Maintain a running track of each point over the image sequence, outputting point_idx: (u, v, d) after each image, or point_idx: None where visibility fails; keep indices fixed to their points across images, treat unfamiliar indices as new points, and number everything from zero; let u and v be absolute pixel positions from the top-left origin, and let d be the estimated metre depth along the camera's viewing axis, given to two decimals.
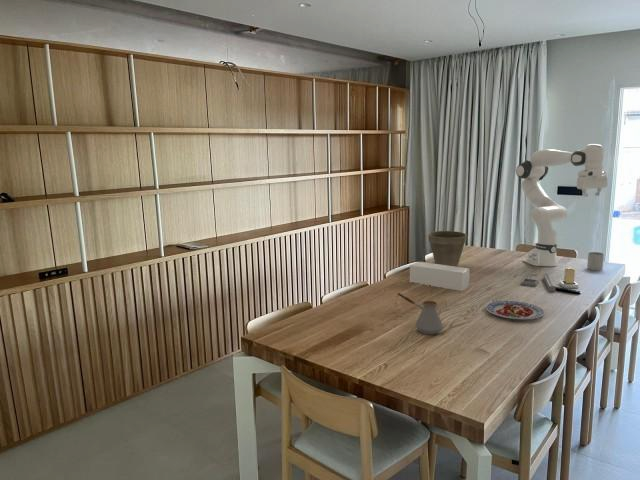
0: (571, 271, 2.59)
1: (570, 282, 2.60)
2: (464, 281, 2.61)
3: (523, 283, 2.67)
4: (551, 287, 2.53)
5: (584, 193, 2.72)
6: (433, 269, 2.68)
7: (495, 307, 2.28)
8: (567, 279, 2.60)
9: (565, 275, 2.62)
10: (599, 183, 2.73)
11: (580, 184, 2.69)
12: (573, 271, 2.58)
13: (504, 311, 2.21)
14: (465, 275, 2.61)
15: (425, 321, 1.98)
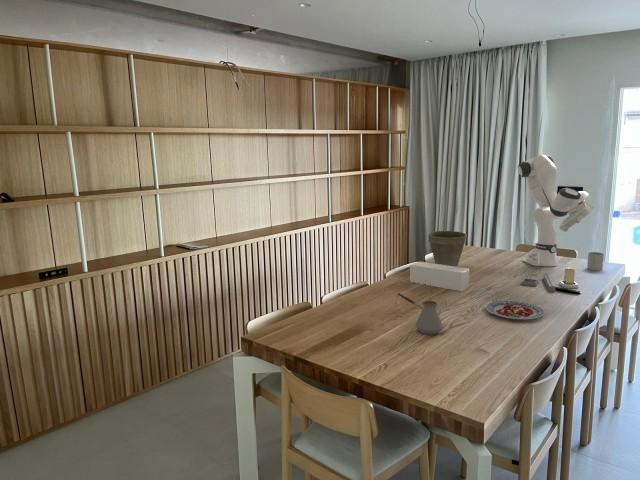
0: (571, 271, 2.59)
1: (570, 282, 2.60)
2: (464, 281, 2.61)
3: (523, 283, 2.67)
4: (551, 287, 2.53)
5: (580, 219, 2.54)
6: (433, 269, 2.68)
7: (495, 307, 2.28)
8: (567, 279, 2.60)
9: (565, 275, 2.62)
10: None
11: (589, 209, 2.53)
12: (573, 271, 2.58)
13: (504, 311, 2.21)
14: (465, 275, 2.61)
15: (425, 321, 1.98)
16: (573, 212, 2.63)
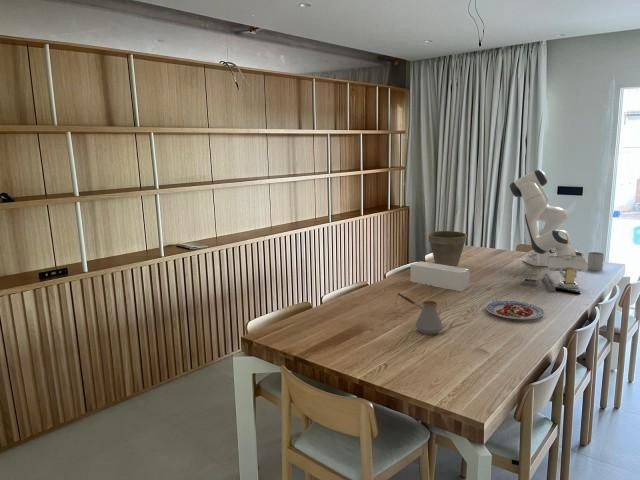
0: (571, 271, 2.59)
1: (570, 282, 2.60)
2: (463, 281, 2.60)
3: (523, 283, 2.67)
4: (551, 287, 2.53)
5: None
6: (433, 269, 2.68)
7: (495, 307, 2.28)
8: (567, 279, 2.60)
9: None
10: None
11: None
12: (573, 271, 2.58)
13: (504, 311, 2.21)
14: (464, 275, 2.61)
15: (425, 321, 1.98)
16: (567, 258, 2.65)
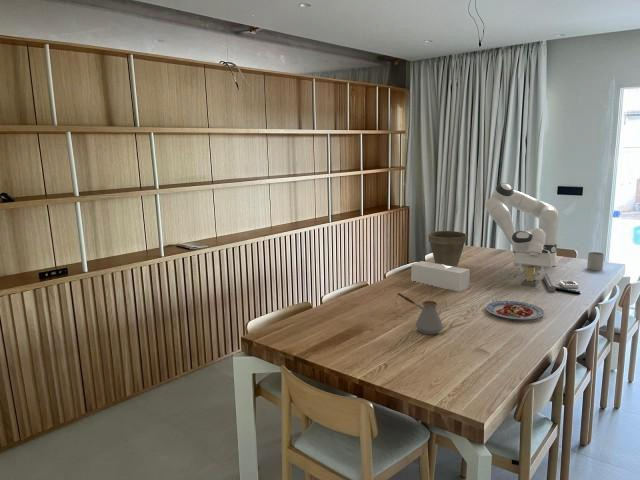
0: (530, 269, 2.65)
1: (529, 280, 2.66)
2: (462, 282, 2.60)
3: (523, 283, 2.67)
4: (551, 287, 2.53)
5: (541, 271, 2.65)
6: (433, 269, 2.68)
7: (495, 307, 2.29)
8: (526, 277, 2.67)
9: None
10: None
11: (551, 265, 2.65)
12: (532, 269, 2.64)
13: (504, 311, 2.21)
14: (464, 276, 2.60)
15: (425, 321, 1.98)
16: (533, 255, 2.70)
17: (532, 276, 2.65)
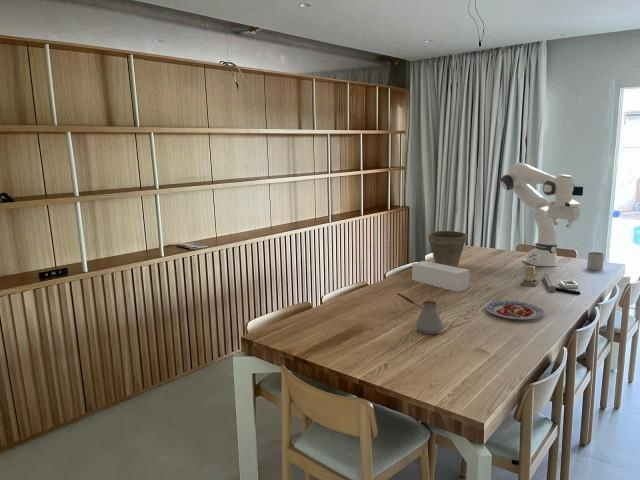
0: (530, 269, 2.65)
1: (529, 280, 2.66)
2: (462, 282, 2.59)
3: (523, 283, 2.67)
4: (551, 287, 2.53)
5: (570, 224, 2.69)
6: (432, 269, 2.69)
7: (495, 307, 2.29)
8: (526, 277, 2.67)
9: None
10: None
11: (578, 215, 2.64)
12: (532, 269, 2.64)
13: (504, 311, 2.21)
14: (463, 276, 2.59)
15: (425, 321, 1.98)
16: None
17: (532, 276, 2.65)
